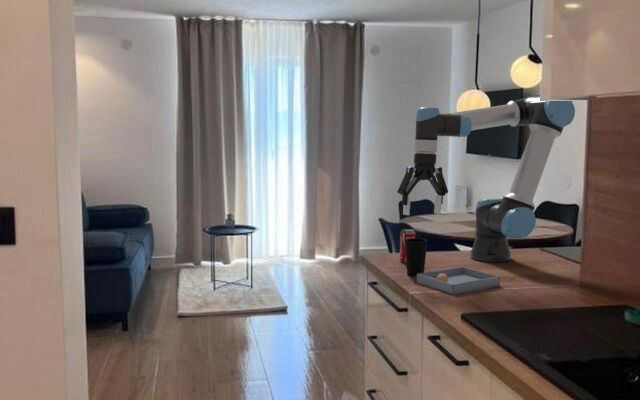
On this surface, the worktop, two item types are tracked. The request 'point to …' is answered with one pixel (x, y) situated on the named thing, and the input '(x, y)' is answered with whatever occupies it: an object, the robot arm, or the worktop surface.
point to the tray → (458, 280)
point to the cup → (415, 255)
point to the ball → (442, 277)
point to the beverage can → (404, 235)
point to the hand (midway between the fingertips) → (421, 214)
